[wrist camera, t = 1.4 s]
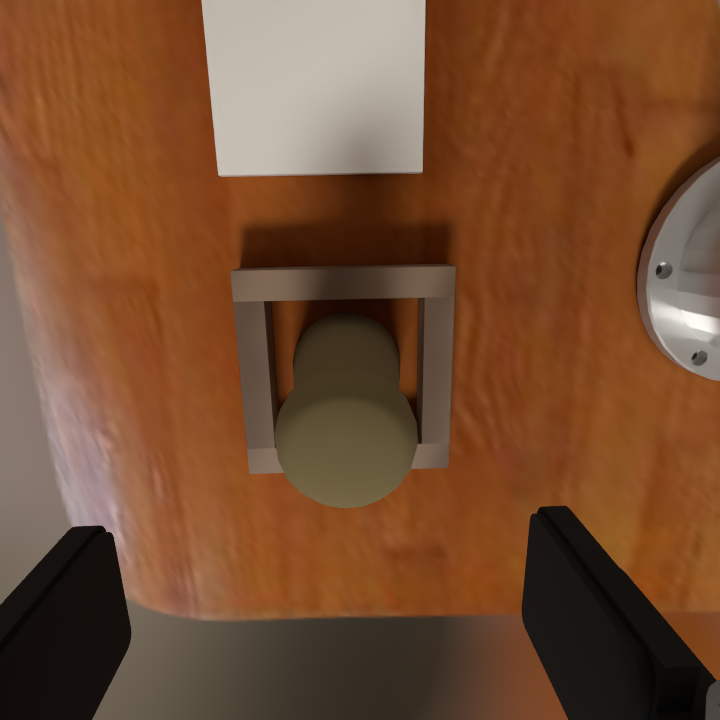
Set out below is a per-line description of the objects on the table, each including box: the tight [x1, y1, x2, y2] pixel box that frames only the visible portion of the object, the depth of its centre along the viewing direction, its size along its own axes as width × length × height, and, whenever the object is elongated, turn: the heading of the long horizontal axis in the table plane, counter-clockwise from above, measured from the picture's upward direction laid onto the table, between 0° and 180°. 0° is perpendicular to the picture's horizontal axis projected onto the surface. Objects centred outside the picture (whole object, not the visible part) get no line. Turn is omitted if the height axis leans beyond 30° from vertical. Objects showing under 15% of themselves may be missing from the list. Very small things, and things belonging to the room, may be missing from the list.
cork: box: [274, 312, 418, 508], centre depth 20 cm, size 6×6×11 cm
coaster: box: [202, 0, 426, 177], centre depth 21 cm, size 10×10×1 cm
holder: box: [230, 264, 456, 474], centre depth 25 cm, size 11×11×2 cm
